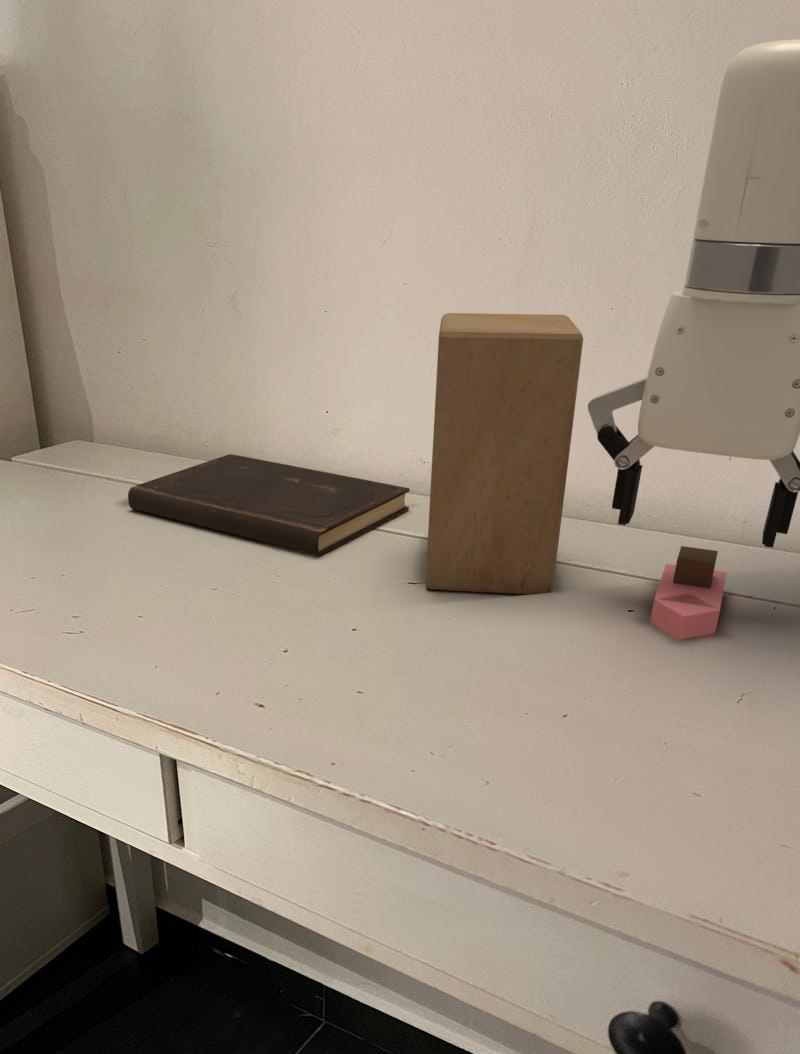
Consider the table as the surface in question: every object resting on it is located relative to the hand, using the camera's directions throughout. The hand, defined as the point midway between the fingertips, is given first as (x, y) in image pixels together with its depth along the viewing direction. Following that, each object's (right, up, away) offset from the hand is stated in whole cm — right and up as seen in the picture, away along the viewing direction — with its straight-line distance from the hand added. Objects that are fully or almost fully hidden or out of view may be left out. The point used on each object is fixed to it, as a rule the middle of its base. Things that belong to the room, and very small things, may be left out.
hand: (694, 530), depth 65 cm
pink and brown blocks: (0, -7, +2) cm, 7 cm away
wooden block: (-13, -2, +12) cm, 17 cm away
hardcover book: (-32, +5, +26) cm, 41 cm away
